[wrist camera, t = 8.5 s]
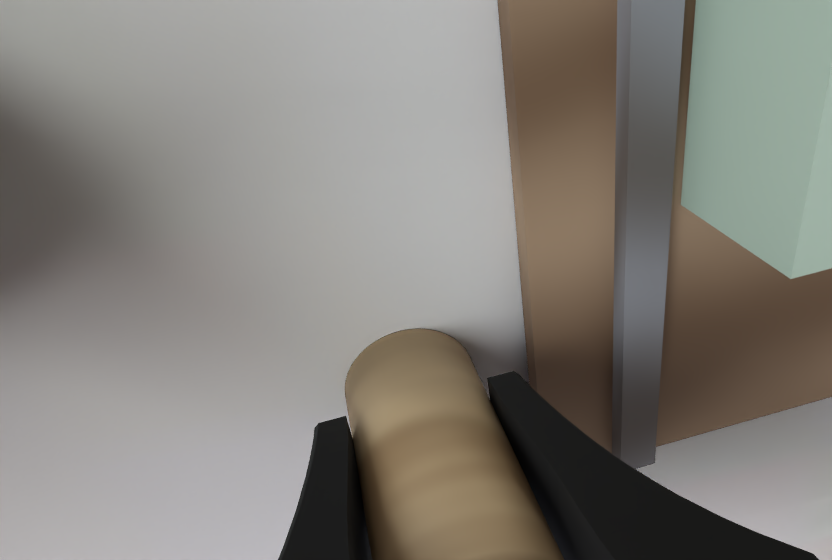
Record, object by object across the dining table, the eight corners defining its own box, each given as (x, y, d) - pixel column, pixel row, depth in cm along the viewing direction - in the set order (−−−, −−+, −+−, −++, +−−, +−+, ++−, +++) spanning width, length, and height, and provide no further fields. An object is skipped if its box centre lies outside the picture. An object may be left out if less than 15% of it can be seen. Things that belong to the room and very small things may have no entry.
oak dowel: (479, 413, 16) (576, 639, 11) (360, 446, 16) (403, 694, 11) (465, 314, 14) (572, 527, 9) (331, 348, 14) (366, 586, 9)
